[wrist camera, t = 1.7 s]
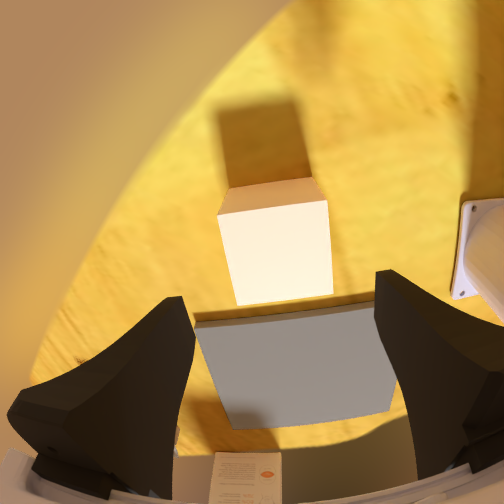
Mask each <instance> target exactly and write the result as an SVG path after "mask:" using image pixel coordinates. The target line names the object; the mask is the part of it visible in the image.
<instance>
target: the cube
mask: <svg viewBox="0 0 504 504" xmlns="http://www.w3.org/2000/svg"><path fill="white" fill-rule="evenodd" d="M217 218H218V222H219V227H220V231H221V236H222V240H223V245H224V249H225V254H226V258H227V262H228V267H229V271H230V276H231V280H232V284H233V289H234V293H235V297H236V301H237V306H238V305H248V304H257V303H266V302H274V301H282V300H290V299H298V298H306V297H313V296H321V295H328V294H333V278H332V259H331V243H330V229H329V217H328V205H327V199H326V198H325V196H324V194H323V193H322V191H321V190H320V188H319V186H318V185H317V183H316V182H315V180H314V179H313V177H306V178H298V179H291V180H283V181H276V182H269V183H262V184H255V185H248V186H242V187H236V188H229V190H228V192H227V195H226V197H225V199H224V201H223V203H222V206H221V208H220V210H219V212H218V214H217Z"/></svg>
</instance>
